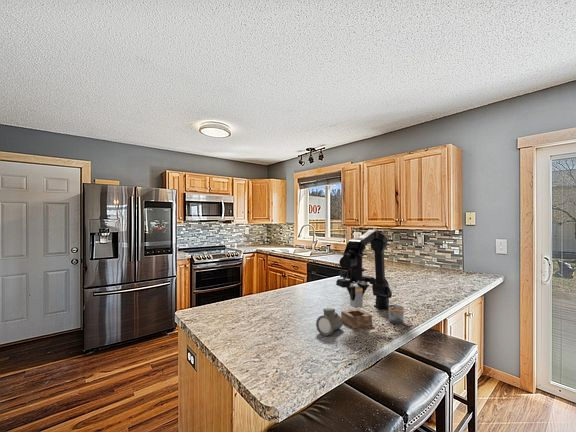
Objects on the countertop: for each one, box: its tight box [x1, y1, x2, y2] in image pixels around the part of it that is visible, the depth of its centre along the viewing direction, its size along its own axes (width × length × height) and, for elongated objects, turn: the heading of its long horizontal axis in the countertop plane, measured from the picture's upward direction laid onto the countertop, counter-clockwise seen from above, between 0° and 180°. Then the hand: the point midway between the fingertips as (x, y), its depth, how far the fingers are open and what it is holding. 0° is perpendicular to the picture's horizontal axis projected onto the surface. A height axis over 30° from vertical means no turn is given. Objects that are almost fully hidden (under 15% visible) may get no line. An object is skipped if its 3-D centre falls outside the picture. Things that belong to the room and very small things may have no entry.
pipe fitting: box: [315, 307, 344, 337], centre depth 120 cm, size 12×8×10 cm
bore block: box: [340, 308, 373, 329], centre depth 130 cm, size 10×10×4 cm
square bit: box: [349, 285, 364, 309], centre depth 130 cm, size 4×4×9 cm
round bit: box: [388, 304, 405, 326], centre depth 131 cm, size 7×7×7 cm
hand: (356, 299), depth 130 cm, fingers closed on square bit, 4 cm apart
